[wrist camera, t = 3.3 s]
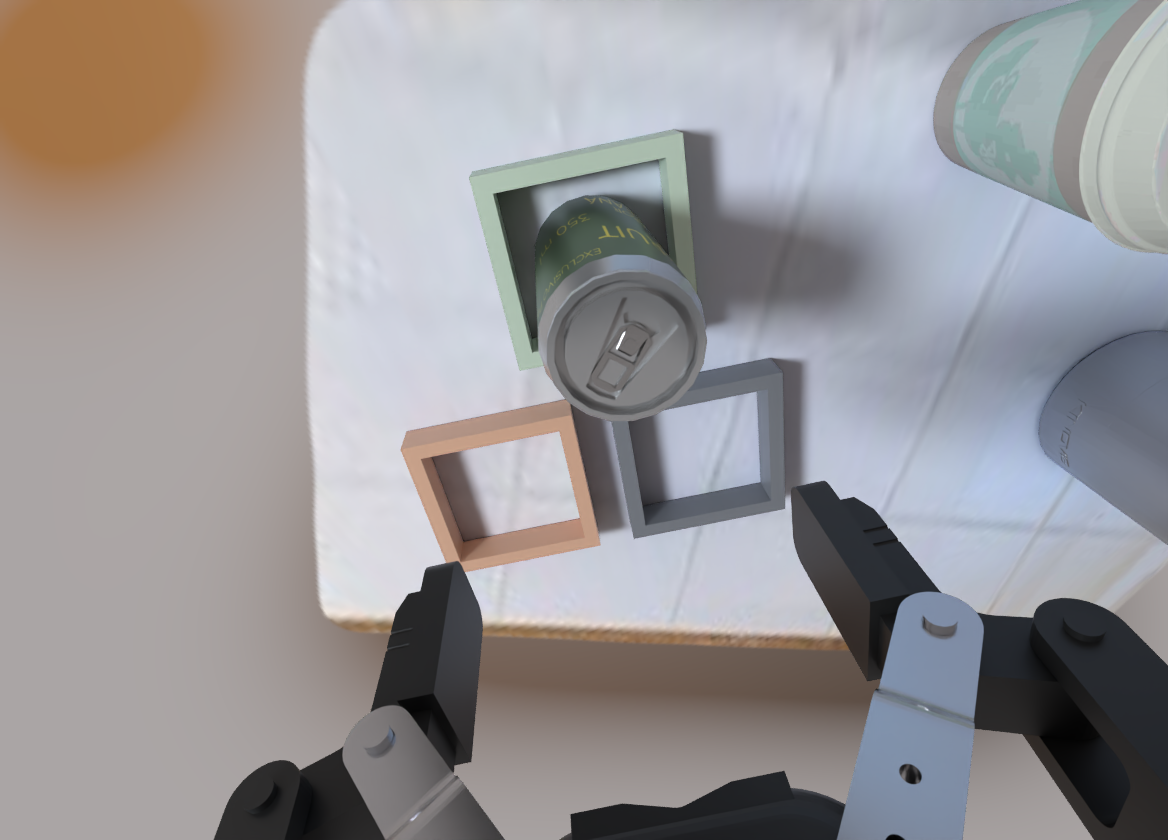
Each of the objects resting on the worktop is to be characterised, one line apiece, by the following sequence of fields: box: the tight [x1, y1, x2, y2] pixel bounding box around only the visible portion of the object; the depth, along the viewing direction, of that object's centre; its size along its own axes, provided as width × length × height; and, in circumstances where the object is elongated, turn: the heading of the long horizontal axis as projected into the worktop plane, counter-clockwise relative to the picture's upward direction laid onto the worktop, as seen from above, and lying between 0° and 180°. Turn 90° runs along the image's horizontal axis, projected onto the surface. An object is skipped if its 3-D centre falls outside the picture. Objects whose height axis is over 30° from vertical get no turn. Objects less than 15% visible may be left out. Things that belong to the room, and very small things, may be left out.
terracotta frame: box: [401, 400, 600, 572], centre depth 34 cm, size 9×9×2 cm
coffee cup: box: [933, 0, 1168, 254], centre depth 22 cm, size 9×8×12 cm
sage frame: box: [469, 130, 697, 371], centre depth 28 cm, size 9×9×2 cm
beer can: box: [535, 196, 707, 421], centre depth 23 cm, size 5×5×12 cm
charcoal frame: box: [611, 358, 785, 539], centre depth 34 cm, size 9×9×2 cm
